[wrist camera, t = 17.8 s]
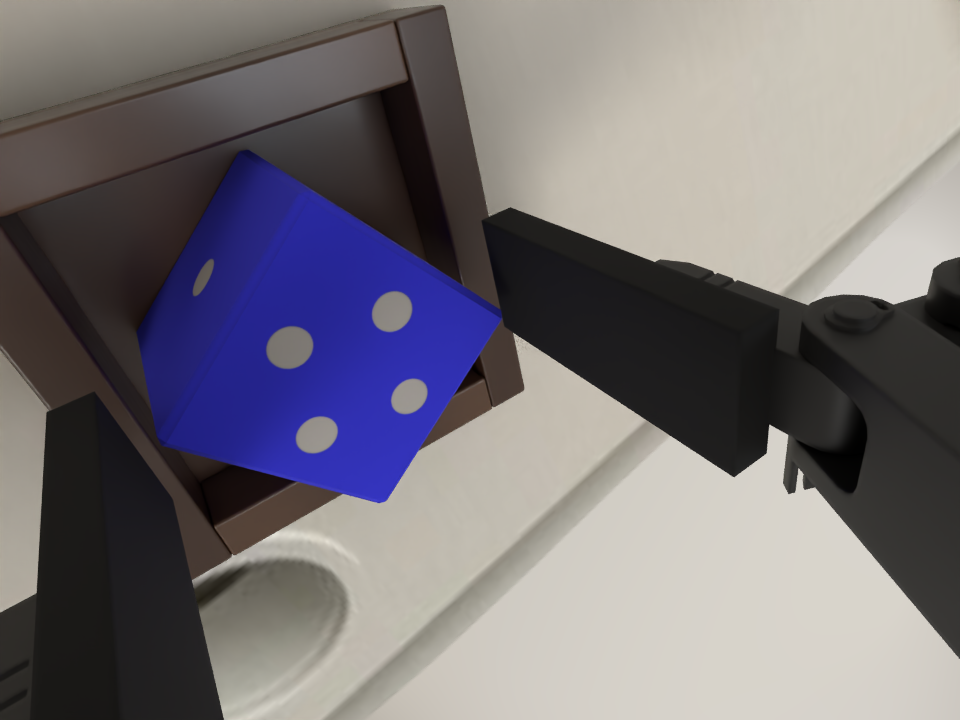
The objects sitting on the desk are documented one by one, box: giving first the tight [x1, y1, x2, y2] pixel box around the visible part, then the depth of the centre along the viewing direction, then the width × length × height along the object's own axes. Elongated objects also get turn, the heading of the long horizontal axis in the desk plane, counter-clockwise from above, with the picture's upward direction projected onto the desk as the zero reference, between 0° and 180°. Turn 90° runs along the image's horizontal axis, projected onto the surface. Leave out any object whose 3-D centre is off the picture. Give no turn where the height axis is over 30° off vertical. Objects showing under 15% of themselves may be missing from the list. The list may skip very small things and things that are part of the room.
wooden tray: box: [0, 5, 524, 580], centre depth 15 cm, size 10×10×3 cm
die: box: [136, 150, 502, 503], centre depth 13 cm, size 5×5×5 cm
